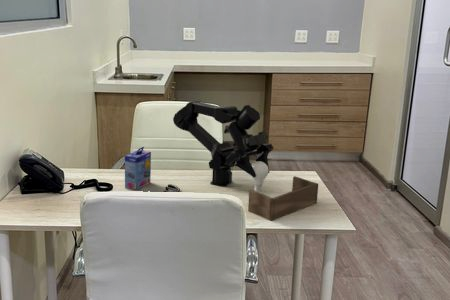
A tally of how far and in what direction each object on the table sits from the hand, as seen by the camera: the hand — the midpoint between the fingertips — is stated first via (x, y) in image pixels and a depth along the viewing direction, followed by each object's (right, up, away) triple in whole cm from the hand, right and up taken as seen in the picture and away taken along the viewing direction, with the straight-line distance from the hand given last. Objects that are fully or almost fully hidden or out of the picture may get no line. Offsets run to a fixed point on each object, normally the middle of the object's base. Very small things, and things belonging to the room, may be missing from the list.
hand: (261, 175), depth 154 cm
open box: (+6, -10, -5) cm, 13 cm away
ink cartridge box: (-44, -5, +12) cm, 46 cm away
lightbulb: (-1, -6, +3) cm, 7 cm away
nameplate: (-33, -9, -3) cm, 34 cm away
